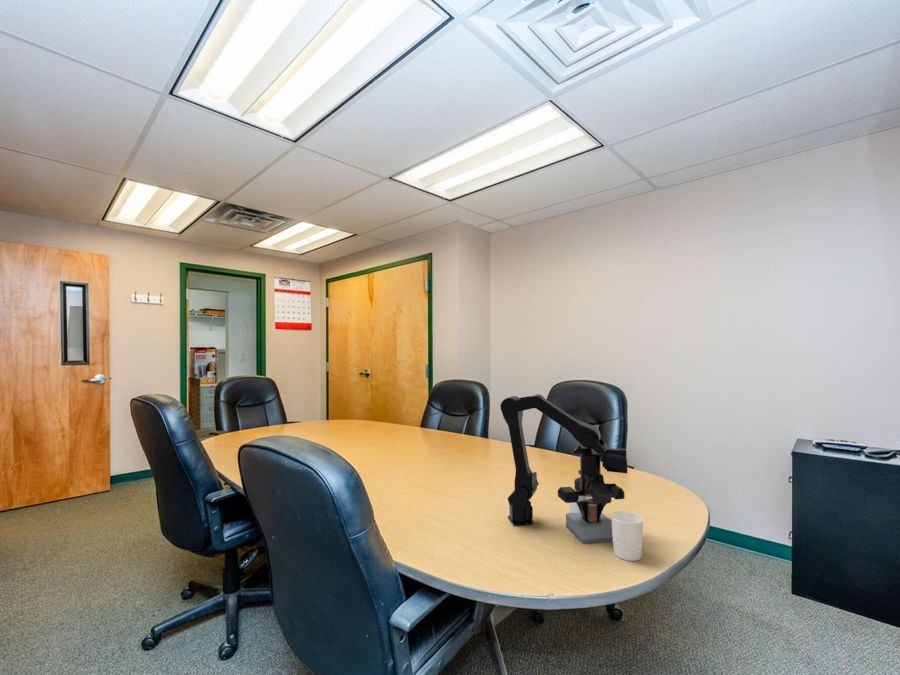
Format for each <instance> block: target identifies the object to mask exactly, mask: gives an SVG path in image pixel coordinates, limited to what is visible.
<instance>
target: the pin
mask: <svg viewBox="0 0 900 675" xmlns="http://www.w3.org/2000/svg"><path fill="white" fill-rule="evenodd" d="M586 501H587V502H588V503H589V504H588V505H587V517H588V519H587V523H588V524H589V523H597V503H596V502H595V501H594V500H586Z"/></svg>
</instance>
